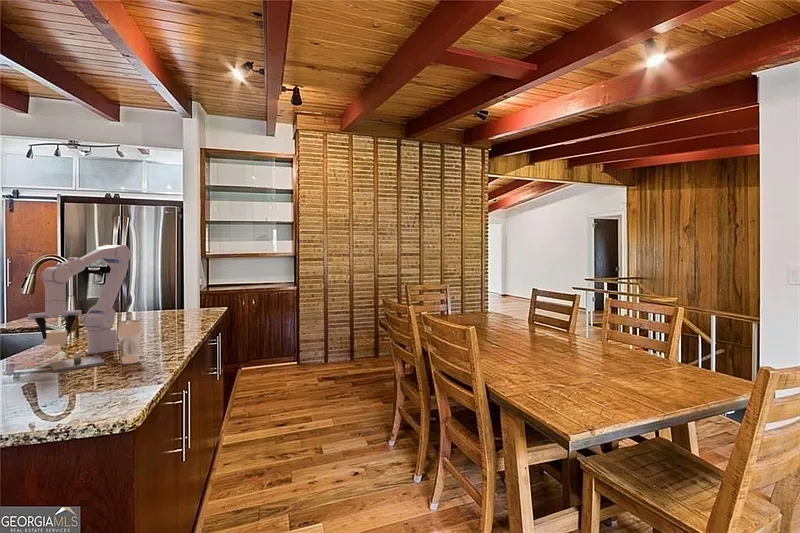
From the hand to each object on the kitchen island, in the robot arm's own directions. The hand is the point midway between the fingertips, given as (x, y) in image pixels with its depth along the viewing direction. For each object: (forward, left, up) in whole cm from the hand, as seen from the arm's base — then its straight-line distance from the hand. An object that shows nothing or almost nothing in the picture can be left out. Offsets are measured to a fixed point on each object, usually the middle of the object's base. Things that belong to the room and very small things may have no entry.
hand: (56, 337), depth 144 cm
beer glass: (-19, +18, -9) cm, 28 cm away
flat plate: (-5, +10, -9) cm, 14 cm away
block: (0, 0, -2) cm, 2 cm away
